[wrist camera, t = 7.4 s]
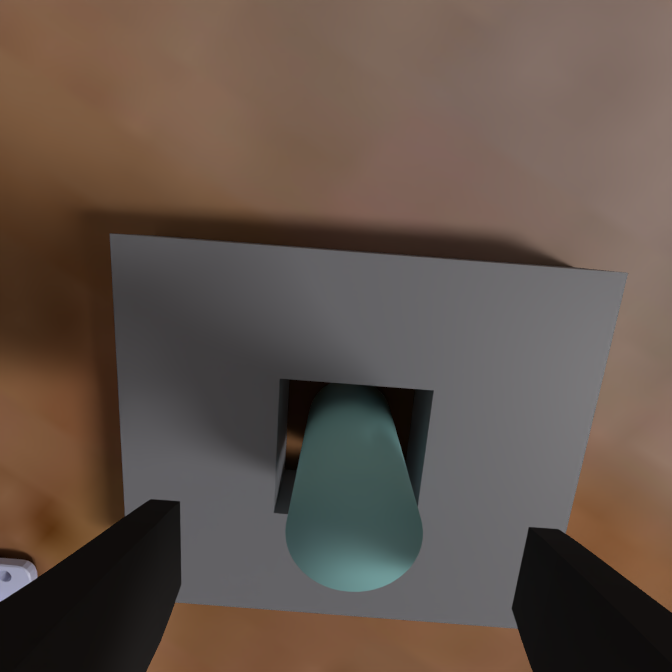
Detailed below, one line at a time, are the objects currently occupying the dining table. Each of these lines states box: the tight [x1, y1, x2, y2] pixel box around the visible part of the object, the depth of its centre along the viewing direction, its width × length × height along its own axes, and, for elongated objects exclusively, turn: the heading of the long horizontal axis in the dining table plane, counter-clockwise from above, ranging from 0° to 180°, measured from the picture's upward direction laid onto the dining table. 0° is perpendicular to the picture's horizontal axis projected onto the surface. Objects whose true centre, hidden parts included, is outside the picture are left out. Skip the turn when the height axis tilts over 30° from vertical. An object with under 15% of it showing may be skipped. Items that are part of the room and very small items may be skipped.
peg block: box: [110, 234, 628, 629], centre depth 13 cm, size 14×12×2 cm
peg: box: [285, 383, 423, 592], centre depth 12 cm, size 3×3×6 cm
